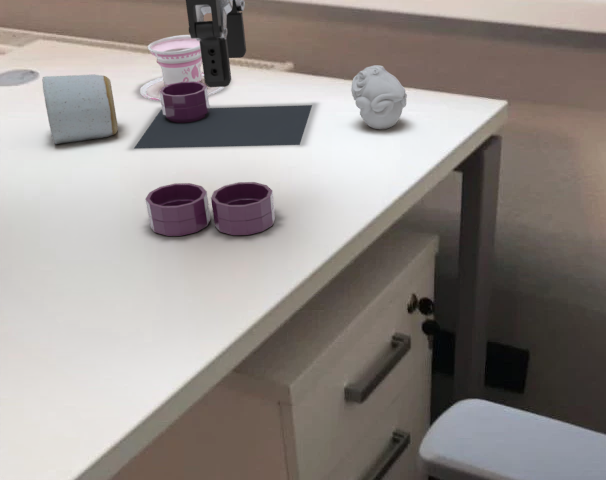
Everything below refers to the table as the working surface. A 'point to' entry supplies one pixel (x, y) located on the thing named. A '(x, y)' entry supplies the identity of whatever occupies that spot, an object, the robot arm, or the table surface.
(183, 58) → the teacup
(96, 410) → the table surface
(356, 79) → the frog figurine
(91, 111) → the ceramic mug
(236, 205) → the dish right
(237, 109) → the mat
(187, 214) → the dish middle
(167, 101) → the dish left
